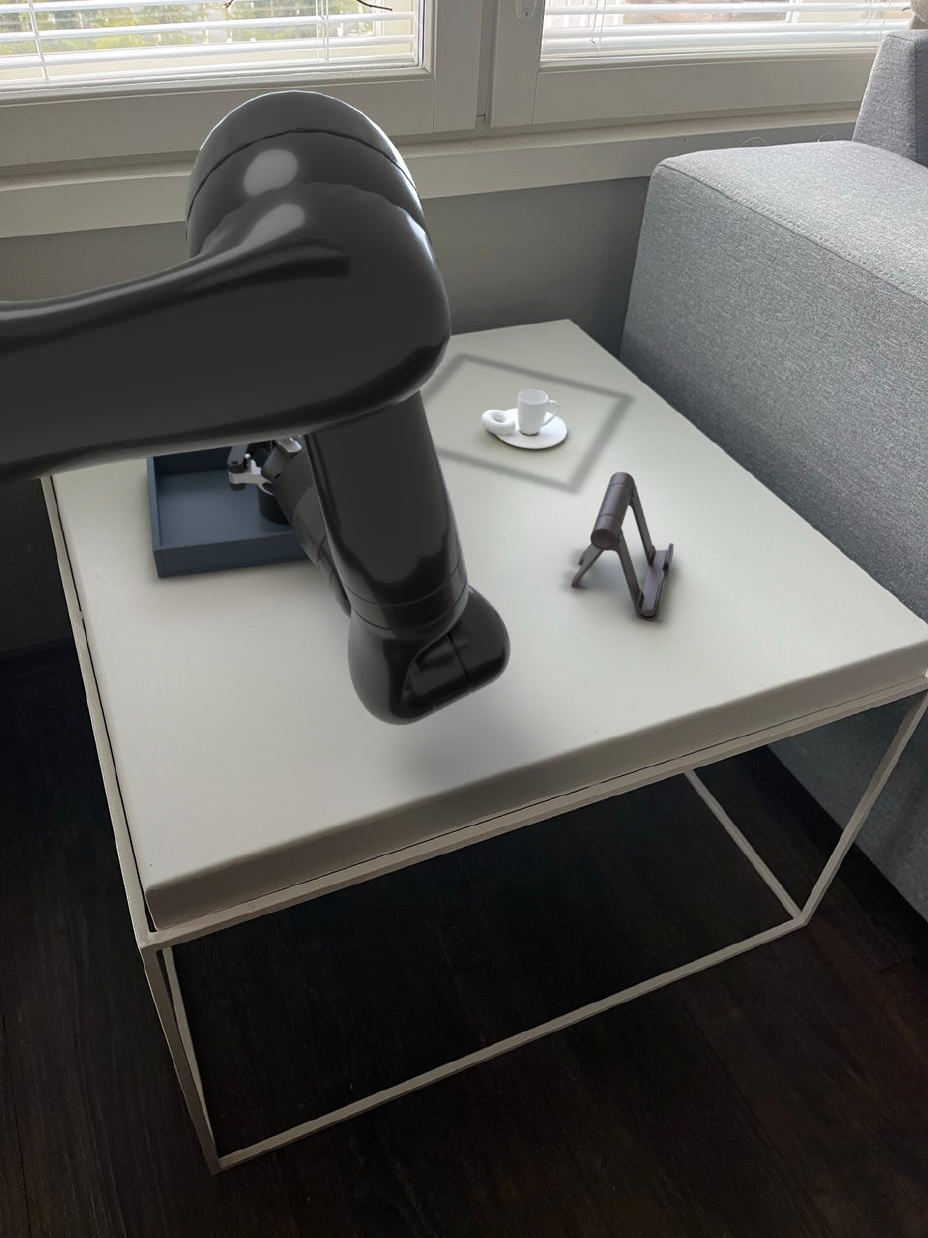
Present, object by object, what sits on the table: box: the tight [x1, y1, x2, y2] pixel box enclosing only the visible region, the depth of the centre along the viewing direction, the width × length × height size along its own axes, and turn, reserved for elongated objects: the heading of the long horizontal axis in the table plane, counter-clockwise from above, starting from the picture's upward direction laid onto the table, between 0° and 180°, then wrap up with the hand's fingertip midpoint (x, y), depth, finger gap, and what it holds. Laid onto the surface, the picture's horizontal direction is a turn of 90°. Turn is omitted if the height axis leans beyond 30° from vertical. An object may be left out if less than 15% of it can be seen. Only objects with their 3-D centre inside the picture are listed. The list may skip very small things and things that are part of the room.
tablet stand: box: [570, 471, 675, 622], centre depth 82 cm, size 9×8×8 cm
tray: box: [145, 436, 310, 579], centre depth 88 cm, size 19×15×3 cm
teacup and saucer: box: [480, 388, 568, 450], centre depth 101 cm, size 9×8×4 cm
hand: (272, 405), depth 85 cm, fingers closed on brush, 2 cm apart
